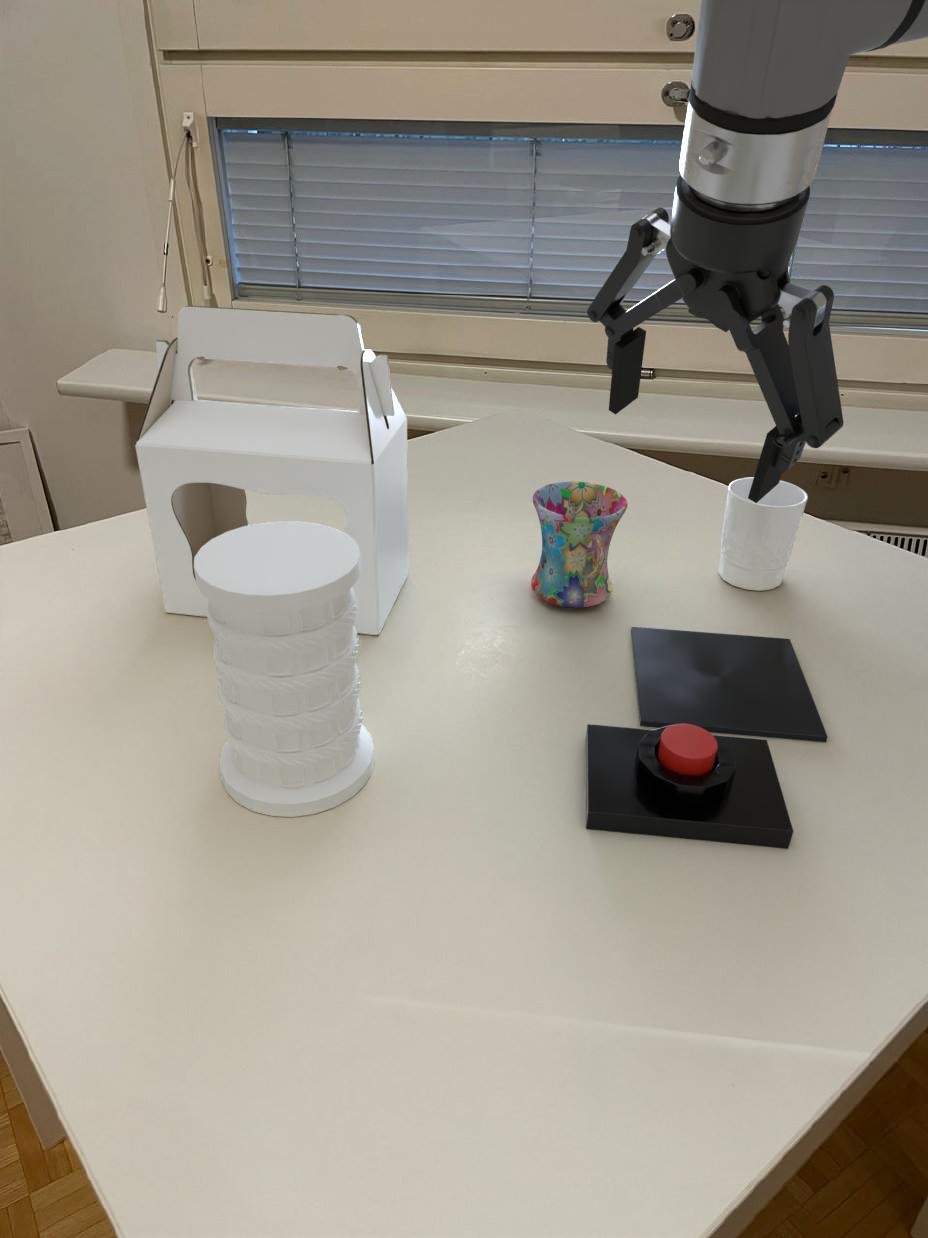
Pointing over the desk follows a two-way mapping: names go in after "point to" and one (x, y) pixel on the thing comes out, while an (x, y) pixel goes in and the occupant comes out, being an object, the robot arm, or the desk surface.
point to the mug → (575, 542)
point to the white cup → (759, 534)
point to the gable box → (273, 450)
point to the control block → (683, 790)
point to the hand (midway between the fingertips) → (690, 445)
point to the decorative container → (287, 665)
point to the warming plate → (723, 684)
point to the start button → (687, 750)
